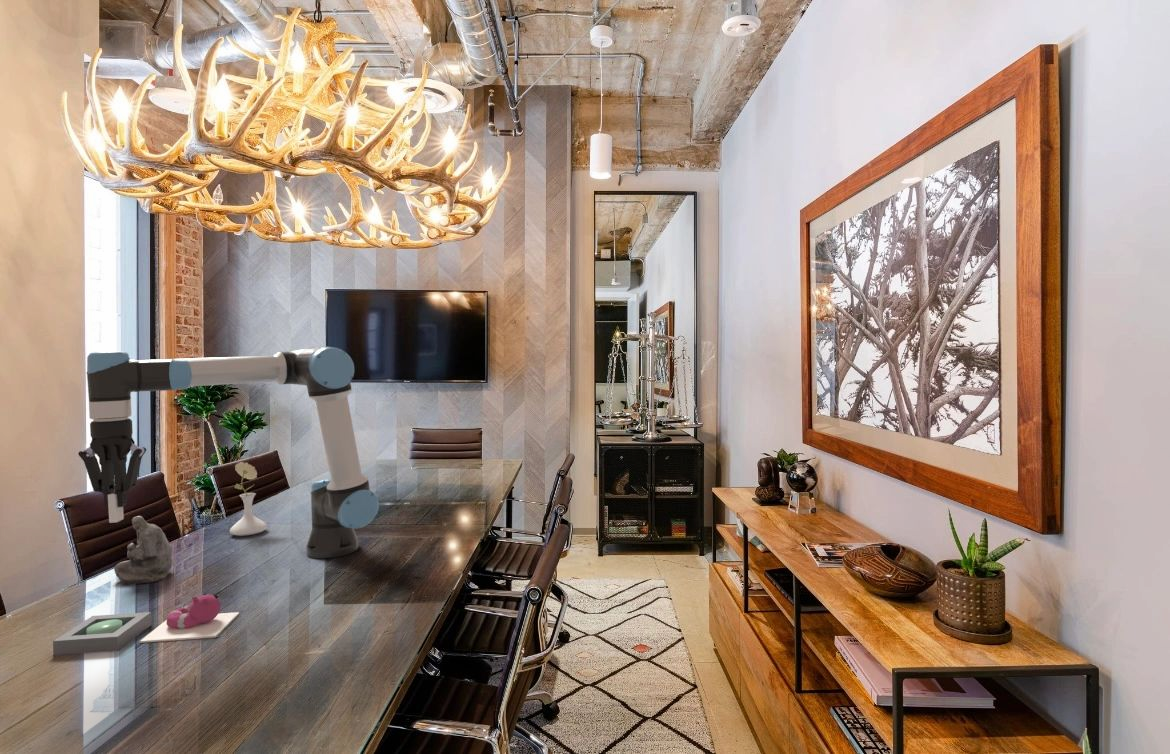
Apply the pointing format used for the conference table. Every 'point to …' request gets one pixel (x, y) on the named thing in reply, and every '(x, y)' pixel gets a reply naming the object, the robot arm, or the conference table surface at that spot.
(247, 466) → the flower in vase
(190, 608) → the toy
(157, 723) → the conference table surface
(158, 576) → the figurine
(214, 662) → the conference table surface
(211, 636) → the paper sheet
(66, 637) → the button housing
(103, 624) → the button
